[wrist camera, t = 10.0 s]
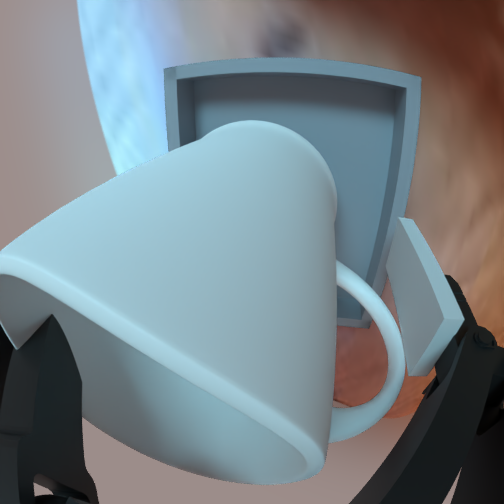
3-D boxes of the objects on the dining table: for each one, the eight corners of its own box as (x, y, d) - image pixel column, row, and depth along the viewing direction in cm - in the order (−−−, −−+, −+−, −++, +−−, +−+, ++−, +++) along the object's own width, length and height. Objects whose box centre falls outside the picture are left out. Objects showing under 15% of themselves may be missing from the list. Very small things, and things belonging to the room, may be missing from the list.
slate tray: (404, 80, 12) (421, 77, 9) (366, 301, 20) (369, 328, 18) (187, 71, 15) (163, 68, 12) (204, 280, 23) (190, 302, 21)
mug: (417, 208, 12) (520, 436, 2) (330, 312, 17) (308, 504, 7) (212, 94, 12) (-52, 153, 2) (165, 227, 16) (29, 377, 7)
